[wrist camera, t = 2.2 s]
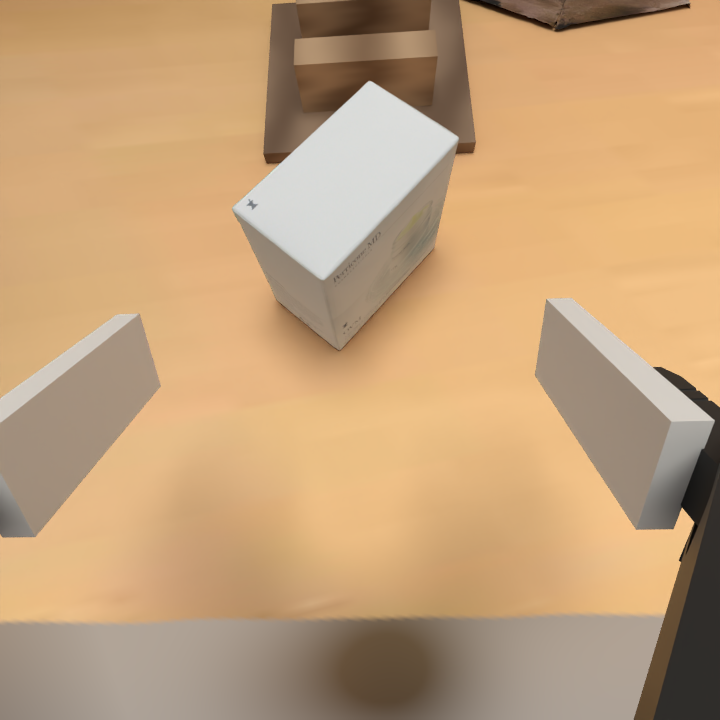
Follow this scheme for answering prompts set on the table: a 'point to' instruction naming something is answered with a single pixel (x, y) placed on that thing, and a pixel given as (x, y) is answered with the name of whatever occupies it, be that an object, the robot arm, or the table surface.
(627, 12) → the wooden fragment
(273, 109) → the ridge board
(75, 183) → the table surface
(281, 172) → the skincare box
